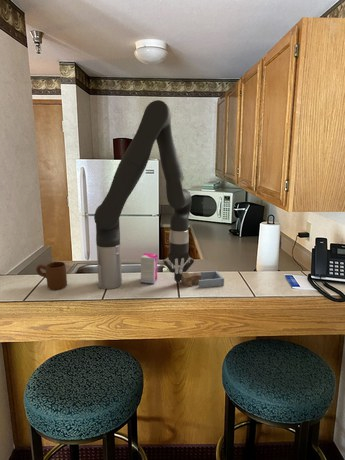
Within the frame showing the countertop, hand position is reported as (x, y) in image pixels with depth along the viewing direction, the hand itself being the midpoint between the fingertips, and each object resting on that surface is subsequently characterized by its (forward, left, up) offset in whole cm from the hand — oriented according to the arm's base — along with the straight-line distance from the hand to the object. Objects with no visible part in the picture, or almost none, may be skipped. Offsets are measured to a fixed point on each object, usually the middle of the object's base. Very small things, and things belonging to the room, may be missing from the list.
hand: (177, 281), depth 134 cm
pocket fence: (+14, 0, -2) cm, 14 cm away
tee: (+6, 0, -2) cm, 6 cm away
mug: (-50, +9, -2) cm, 51 cm away
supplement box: (-11, +6, -2) cm, 13 cm away
